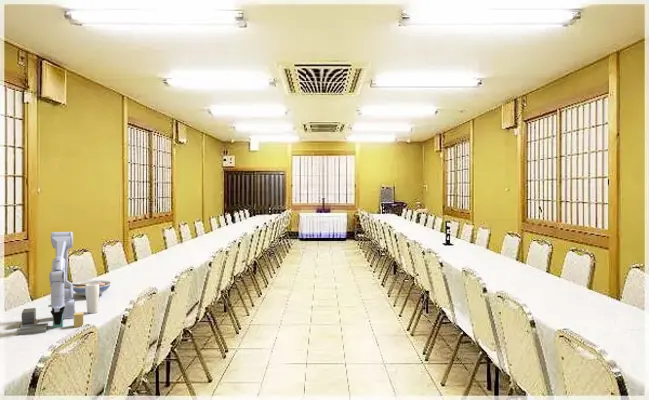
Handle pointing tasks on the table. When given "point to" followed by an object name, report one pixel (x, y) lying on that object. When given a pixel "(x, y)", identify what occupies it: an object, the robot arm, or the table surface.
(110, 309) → the table surface
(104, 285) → the ramen bowl
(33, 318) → the silver unit
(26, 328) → the slate tray
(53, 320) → the teal block
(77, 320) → the ochre block
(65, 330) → the table surface
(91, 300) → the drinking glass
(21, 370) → the table surface
